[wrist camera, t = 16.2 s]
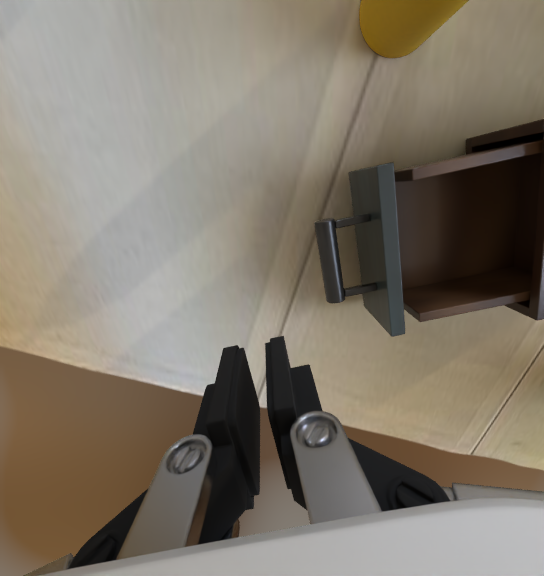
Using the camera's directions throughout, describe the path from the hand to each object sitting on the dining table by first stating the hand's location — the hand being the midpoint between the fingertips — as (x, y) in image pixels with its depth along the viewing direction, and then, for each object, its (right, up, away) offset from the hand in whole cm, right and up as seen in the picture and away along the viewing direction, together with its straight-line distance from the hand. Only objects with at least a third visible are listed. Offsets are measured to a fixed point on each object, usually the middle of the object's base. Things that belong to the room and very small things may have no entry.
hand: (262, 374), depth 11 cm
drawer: (+14, +9, +17) cm, 24 cm away
